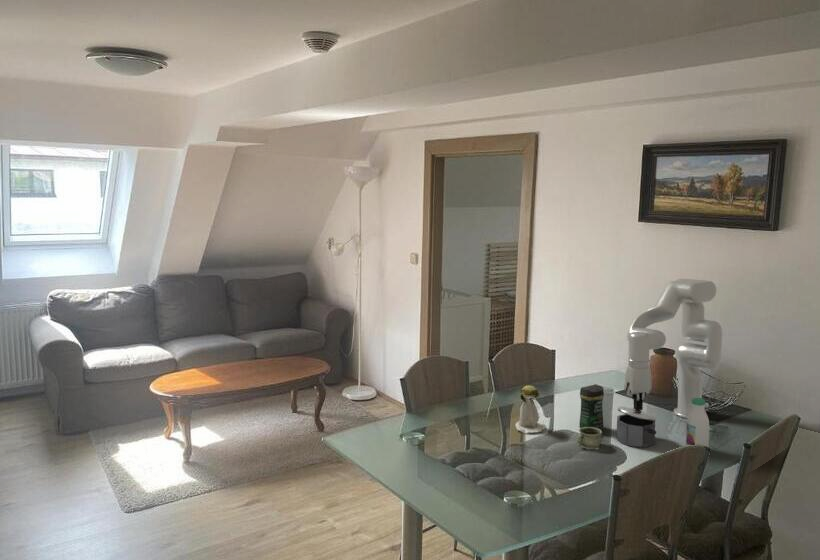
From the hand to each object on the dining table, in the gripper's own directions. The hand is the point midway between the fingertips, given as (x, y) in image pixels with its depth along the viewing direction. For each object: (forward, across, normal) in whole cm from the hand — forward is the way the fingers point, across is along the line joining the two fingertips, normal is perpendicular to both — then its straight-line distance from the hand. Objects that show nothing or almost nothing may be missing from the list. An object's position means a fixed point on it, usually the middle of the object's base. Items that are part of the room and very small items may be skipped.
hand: (638, 409), depth 245 cm
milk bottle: (+13, -12, +18) cm, 25 cm away
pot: (+13, +1, 0) cm, 13 cm away
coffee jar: (+13, +8, -18) cm, 23 cm away
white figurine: (+13, +30, -30) cm, 44 cm away
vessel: (+13, +20, -4) cm, 24 cm away
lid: (+2, +1, 0) cm, 2 cm away
